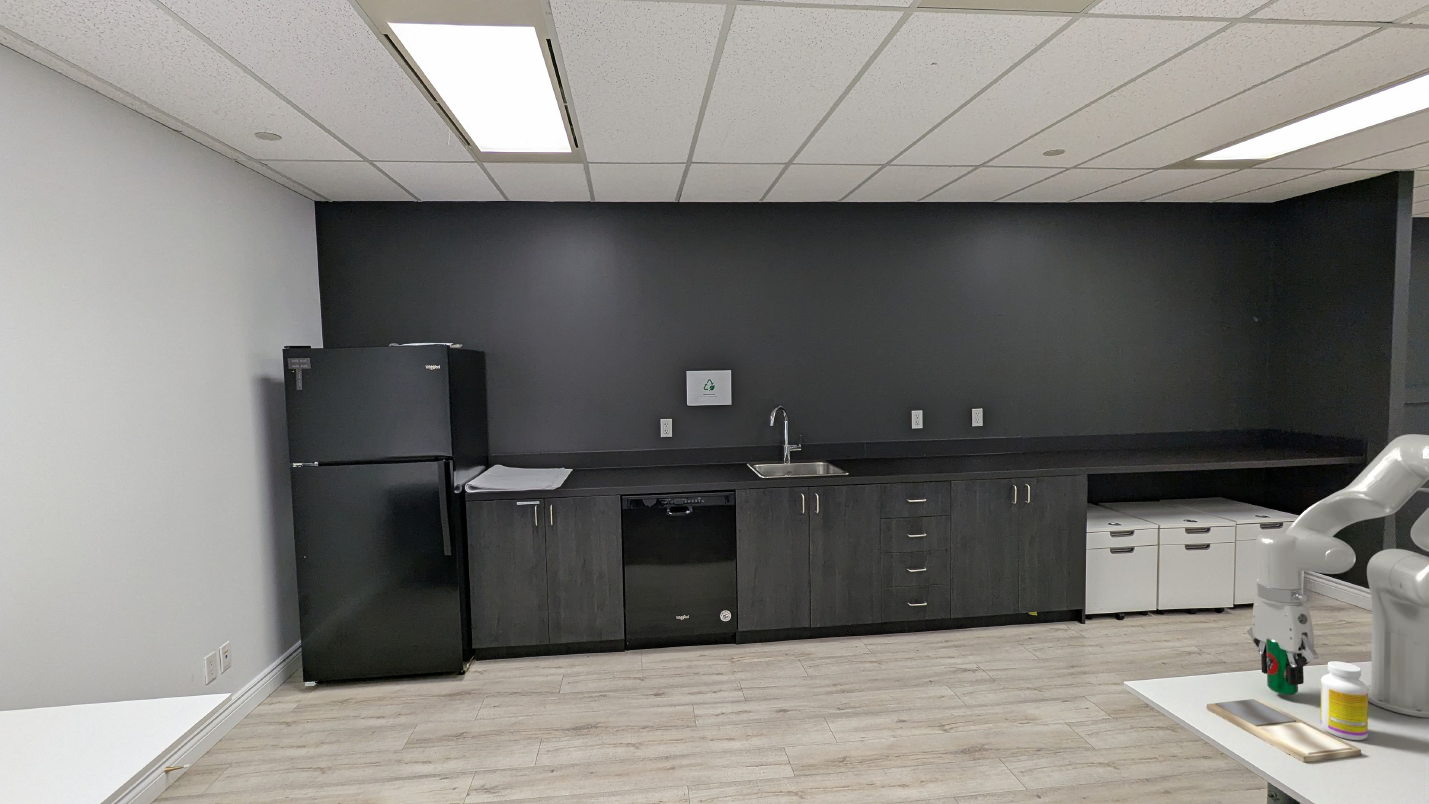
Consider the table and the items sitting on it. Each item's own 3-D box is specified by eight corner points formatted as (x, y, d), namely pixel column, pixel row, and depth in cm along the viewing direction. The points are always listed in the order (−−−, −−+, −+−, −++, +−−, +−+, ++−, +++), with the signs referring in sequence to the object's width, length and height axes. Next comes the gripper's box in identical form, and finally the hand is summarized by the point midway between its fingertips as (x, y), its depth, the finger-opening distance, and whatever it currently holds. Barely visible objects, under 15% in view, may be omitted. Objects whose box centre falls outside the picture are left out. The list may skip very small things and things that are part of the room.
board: (1257, 703, 144) (1257, 697, 144) (1360, 755, 124) (1361, 747, 124) (1206, 708, 142) (1206, 702, 142) (1303, 762, 122) (1303, 755, 122)
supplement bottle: (1376, 743, 128) (1377, 674, 127) (1335, 740, 129) (1336, 672, 129) (1351, 725, 135) (1352, 659, 134) (1312, 722, 136) (1312, 657, 135)
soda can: (1291, 698, 143) (1289, 640, 143) (1262, 689, 148) (1261, 633, 147) (1302, 691, 146) (1301, 635, 145) (1274, 683, 150) (1272, 628, 150)
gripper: (1337, 603, 138) (1339, 693, 139) (1257, 580, 155) (1260, 660, 156) (1304, 607, 137) (1307, 698, 138) (1228, 583, 154) (1230, 664, 155)
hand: (1282, 677), depth 147 cm, fingers closed on soda can, 5 cm apart
